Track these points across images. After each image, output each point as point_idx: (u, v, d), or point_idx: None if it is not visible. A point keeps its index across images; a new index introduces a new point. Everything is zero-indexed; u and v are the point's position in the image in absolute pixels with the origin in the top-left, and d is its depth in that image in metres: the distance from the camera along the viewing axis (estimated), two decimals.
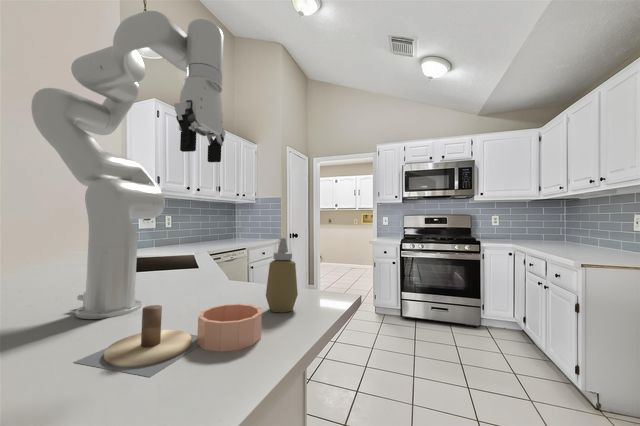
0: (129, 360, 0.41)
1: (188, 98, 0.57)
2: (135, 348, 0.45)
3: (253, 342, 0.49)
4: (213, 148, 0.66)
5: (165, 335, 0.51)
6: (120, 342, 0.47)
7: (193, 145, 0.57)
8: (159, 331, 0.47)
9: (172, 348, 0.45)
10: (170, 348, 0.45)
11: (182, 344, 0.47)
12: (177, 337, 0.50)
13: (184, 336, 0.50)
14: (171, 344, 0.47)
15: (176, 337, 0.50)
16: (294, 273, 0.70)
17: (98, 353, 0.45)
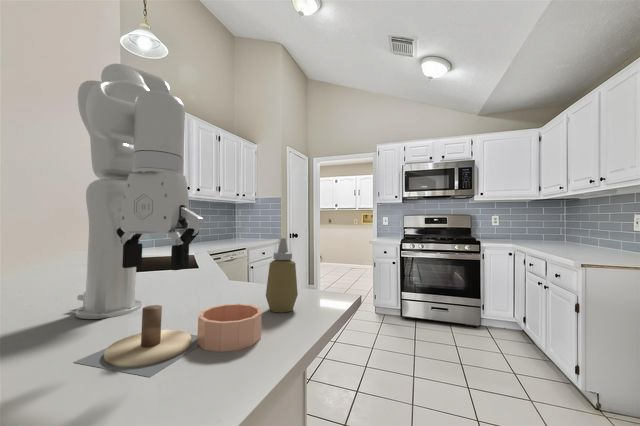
0: (129, 360, 0.41)
1: (181, 203, 0.46)
2: (135, 347, 0.45)
3: (253, 342, 0.49)
4: (134, 248, 0.48)
5: (165, 335, 0.51)
6: (120, 342, 0.47)
7: None
8: (159, 331, 0.47)
9: (172, 348, 0.45)
10: (170, 348, 0.45)
11: (182, 344, 0.47)
12: (177, 337, 0.50)
13: (184, 336, 0.50)
14: (171, 344, 0.47)
15: (176, 337, 0.50)
16: (294, 273, 0.70)
17: (98, 353, 0.45)
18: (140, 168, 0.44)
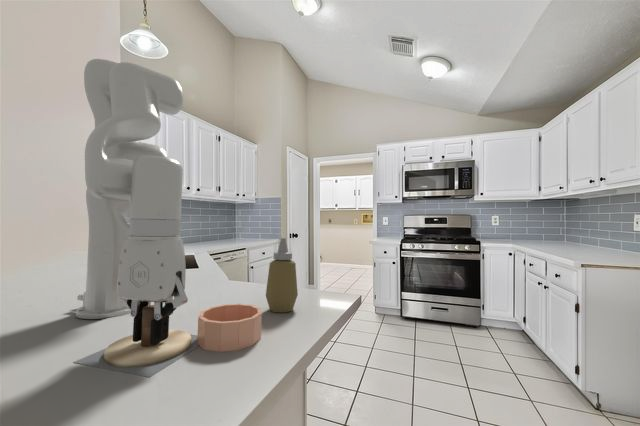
0: (129, 359, 0.41)
1: (178, 269, 0.46)
2: (135, 347, 0.45)
3: (253, 342, 0.49)
4: None
5: None
6: (120, 342, 0.47)
7: (167, 332, 0.48)
8: None
9: (172, 348, 0.45)
10: (170, 348, 0.45)
11: (182, 344, 0.47)
12: (177, 336, 0.50)
13: (184, 336, 0.50)
14: (171, 344, 0.47)
15: (176, 336, 0.50)
16: (294, 273, 0.70)
17: (98, 353, 0.45)
18: (136, 237, 0.44)
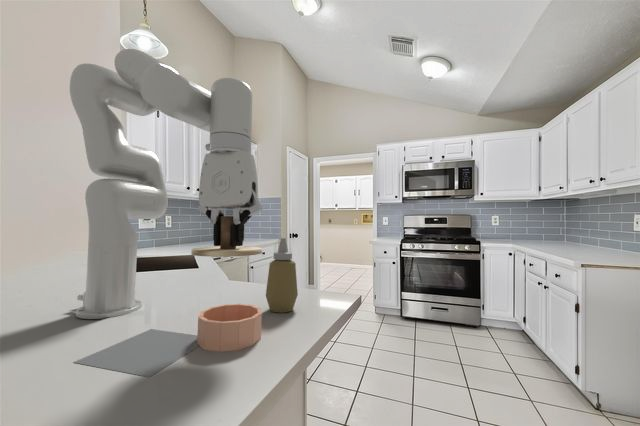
0: (218, 251, 0.46)
1: (253, 180, 0.51)
2: (216, 249, 0.51)
3: (253, 342, 0.49)
4: None
5: (236, 247, 0.56)
6: (200, 248, 0.52)
7: None
8: None
9: (249, 249, 0.51)
10: (248, 249, 0.50)
11: None
12: (248, 247, 0.55)
13: (254, 247, 0.55)
14: None
15: (247, 247, 0.55)
16: (294, 273, 0.70)
17: (98, 353, 0.45)
18: (219, 148, 0.49)
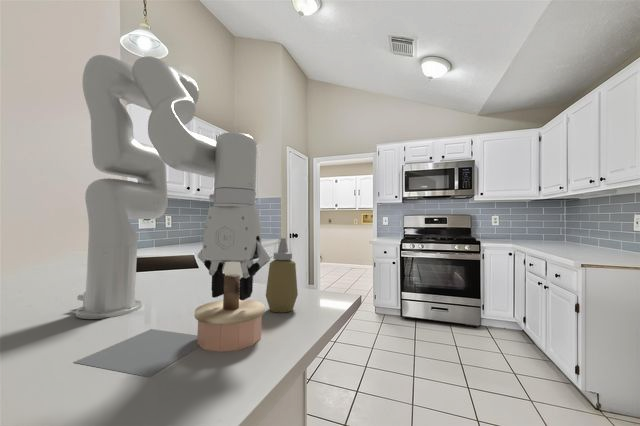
0: (221, 318, 0.47)
1: (257, 234, 0.51)
2: (219, 310, 0.51)
3: (253, 342, 0.49)
4: (220, 279, 0.53)
5: (239, 302, 0.56)
6: (203, 307, 0.53)
7: None
8: (238, 297, 0.52)
9: (252, 311, 0.51)
10: (251, 311, 0.51)
11: (259, 308, 0.52)
12: (250, 303, 0.55)
13: (257, 303, 0.55)
14: (249, 308, 0.52)
15: (249, 303, 0.55)
16: (294, 273, 0.70)
17: (98, 353, 0.45)
18: (223, 203, 0.50)
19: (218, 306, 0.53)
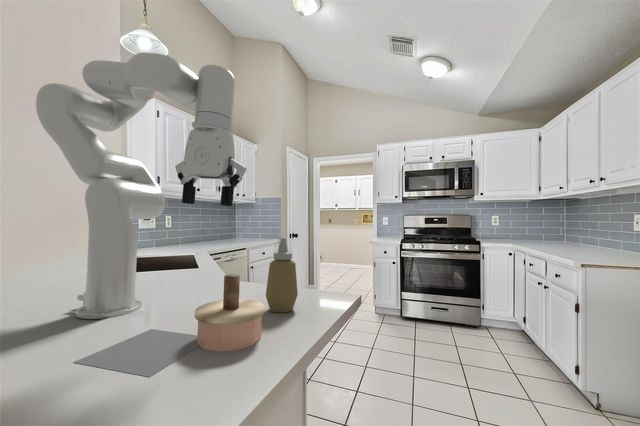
0: (221, 318, 0.47)
1: (230, 155, 0.59)
2: (219, 310, 0.51)
3: (253, 342, 0.49)
4: (191, 189, 0.62)
5: (239, 302, 0.56)
6: (203, 307, 0.53)
7: (231, 201, 0.61)
8: (238, 297, 0.52)
9: (252, 311, 0.51)
10: (251, 311, 0.51)
11: (259, 308, 0.52)
12: (250, 303, 0.55)
13: (257, 303, 0.55)
14: (249, 308, 0.52)
15: (249, 303, 0.55)
16: (294, 273, 0.70)
17: (98, 353, 0.45)
18: (201, 125, 0.58)
19: (218, 306, 0.53)
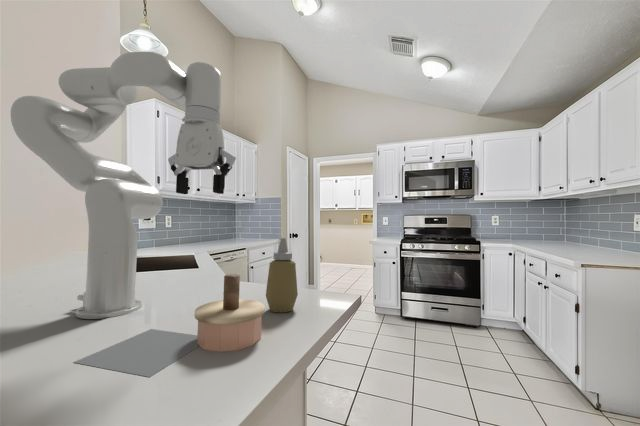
0: (221, 318, 0.47)
1: (220, 145, 0.64)
2: (219, 310, 0.51)
3: (253, 342, 0.49)
4: (184, 180, 0.66)
5: (239, 302, 0.56)
6: (203, 307, 0.53)
7: None
8: (238, 297, 0.52)
9: (252, 311, 0.51)
10: (251, 311, 0.51)
11: (259, 308, 0.52)
12: (250, 303, 0.55)
13: (257, 303, 0.55)
14: (249, 308, 0.52)
15: (249, 303, 0.55)
16: (294, 273, 0.70)
17: (98, 353, 0.45)
18: (191, 118, 0.62)
19: (218, 306, 0.53)
